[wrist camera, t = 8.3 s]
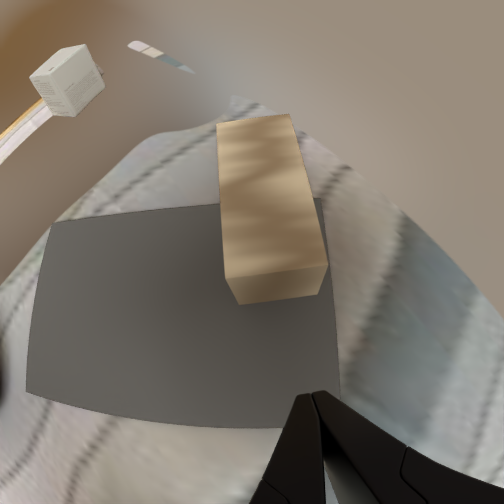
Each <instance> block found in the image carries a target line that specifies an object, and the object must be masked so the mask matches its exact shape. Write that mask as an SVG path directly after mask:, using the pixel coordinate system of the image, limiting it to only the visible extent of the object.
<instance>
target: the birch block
mask: <svg viewBox="0 0 504 504" xmlns="http://www.w3.org/2000/svg"><path fill="white" fill-rule="evenodd" d="M216 125H217V149H218V170H219V190H220V207H221V224H222V240H223V254H224V269H225V279H226V281H227V283H228V285H229V287H230V289H231V290H232V292H233V294H234V296H235V298H236V300H237V302H238V304H239V305H243V304H251V303H259V302H267V301H275V300H282V299H289V298H296V297H303V296H310V295H317V294H318V292H319V289H320V286H321V284H322V281H323V278H324V275H325V273H326V270H327V267H328V261H327V256H326V252H325V247H324V243H323V238H322V234H321V230H320V225H319V221H318V217H317V213H316V209H315V205H314V201H313V197H312V193H311V189H310V185H309V181H308V177H307V174H306V170H305V166H304V163H303V159H302V156H301V152H300V149H299V145H298V142H297V138H296V135H295V131H294V128H293V125H292V121H291V118H290V115H289V114H284V115H275V116H266V117H258V118H250V119H243V120H236V121H229V122H223V123H217V124H216Z"/></svg>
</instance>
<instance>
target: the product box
mask: <svg viewBox="0 0 504 504" xmlns="http://www.w3.org/2000/svg"><path fill="white" fill-rule="evenodd" d="M29 78H30V80H31V82H32V83H33V84H34V86H35V88H36V89H37V91H38V92H39V94H40V95H41V97H42V98H43V100H44V101H45V103H46V104H47V106H48V108H49V109H50V110H51V112H52V114H53V115H58V116H68V117H76V116H77V115H78V114H79V113H80V112H81V111H82V110H83V109H84V108H85V107H86V106H87V105H88V104H89V103H90V102H91V101H92V100H93V99H94V98H95V97H96V96H97V95H98V94H99V93H100V92H102V90H104V89H105V88H106V85H105V83H104V81H103V79H102V77H101V75H100V73H99V71H98V69H97V67H96V65H95V63H94V61H93V59H92V57H91V55H90V52H89V50H88V48H87V46H86V44H83V45H78V46H73V47H68V48H62V49H61V50H59V51H58V52H56V53H55V54H54V55H53V56H52V57H51V58H49V59H48V60H47V61H46V62H45V63H44V64H43V65H42V66H40V67H39V68H38V69H37V70H36V71H35V72H34V73H33V74H32V75H31V76H30V77H29Z"/></svg>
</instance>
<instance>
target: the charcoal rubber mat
mask: <svg viewBox="0 0 504 504" xmlns="http://www.w3.org/2000/svg"><path fill="white" fill-rule="evenodd" d="M313 201H314V205H315V209H316V213H317V217H318V221H319V225H320V230H321V234H322V238H323V243H324V247H325V252H326V256H327V261H328V267H327V270H326V273H325V275H324V278H323V281H322V284H321V286H320V289H319V292H318V294H317V295H310V296H303V297H296V298H289V299H282V300H275V301H267V302H259V303H251V304H243V305H239V304H238V302H237V300H236V298H235V296H234V294H233V292H232V290H231V289H230V287H229V285H228V283H227V281H226V279H225V269H224V254H223V240H222V224H221V207H220V204H213V205H201V206H190V207H179V208H169V209H159V210H150V211H141V212H132V213H124V214H116V215H108V216H100V217H92V218H85V219H78V220H71V221H64V222H58V223H52V226H51V229H50V233H49V237H48V240H47V244H46V248H45V252H44V256H43V260H42V264H41V269H40V273H39V278H38V283H37V288H36V294H35V300H34V306H33V312H32V319H31V327H30V335H29V345H28V356H27V373H26V392H28V393H31V394H34V395H37V396H40V397H43V398H46V399H50V400H53V401H56V402H60V403H64V404H67V405H71V406H75V407H79V408H83V409H87V410H91V411H96V412H100V413H105V414H110V415H115V416H120V417H126V418H132V419H138V420H144V421H151V422H159V423H167V424H176V425H187V426H199V427H216V428H284V426H285V423H286V421H287V418H288V416H289V413H290V410H291V408H292V405H293V403H294V400H295V397H296V396H297V395H299V394H305V393H310V394H312V392H315V391H320V390H326V391H328V392H329V393H330V394H332V395H333V396H335V397H336V398H337V399H339V400H340V382H339V363H338V347H337V333H336V321H335V310H334V299H333V290H332V280H331V272H330V263H329V255H328V247H327V240H326V233H325V226H324V219H323V212H322V206H321V200H320V198H313Z"/></svg>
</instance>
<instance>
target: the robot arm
mask: <svg viewBox="0 0 504 504" xmlns="http://www.w3.org/2000/svg"><path fill="white" fill-rule="evenodd" d="M324 466H325V469H326V471H327V474H328V477H329V479H330V482H331V484H332V487H333V490H334V492H335V495H336V498H337V500H338V503H339V504H504V488H501V487H498V486H495V485H492V484H489V483H487V482H484V481H481V480H478V479H476V478H473V477H470V476H468V475H465V474H463V473H460V472H458V471H455V470H453V469H450V468H448V467H446V466H444V465H442V464H439V463H437V462H435V461H433V460H431V459H430V458H428V457H426V456H424V455H423V454H421V453H419V452H417V451H416V450H414V449H413V448H411V447H409V446H408V447H407V445H405V444H404V443H402V442H401V441H399V440H398V439H396V438H395V437H393V436H391V435H390V434H388V433H387V432H385V431H384V430H382V429H381V428H379V427H378V426H376V425H375V424H373V423H372V422H370V421H369V420H367V419H366V418H365V417H363V416H362V415H360V414H359V413H357V412H356V411H354V410H353V409H352V408H350V407H349V406H347V405H346V404H344V403H343V402H342V401H340V400H339V399H337V398H336V397H335V396H333V395H332V394H330V393H329V392H328V391H326V390H320V391H315V392H312V394H310V393H305V394H299V395H297V396H296V397H295V400H294V403H293V405H292V408H291V410H290V413H289V416H288V418H287V421H286V423H285V426H284V428H283V431H282V433H281V435H280V438H279V440H278V443H277V445H276V447H275V450H274V452H273V454H272V457H271V459H270V461H269V463H268V466H267V468H266V470H265V472H264V474H263V477H262V480H261V481H260V482H259V484H258V487H257V489H256V491H255V493H254V495H253V496H252V498H251V500H250V502H249V504H326V495H325V476H324Z"/></svg>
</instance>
